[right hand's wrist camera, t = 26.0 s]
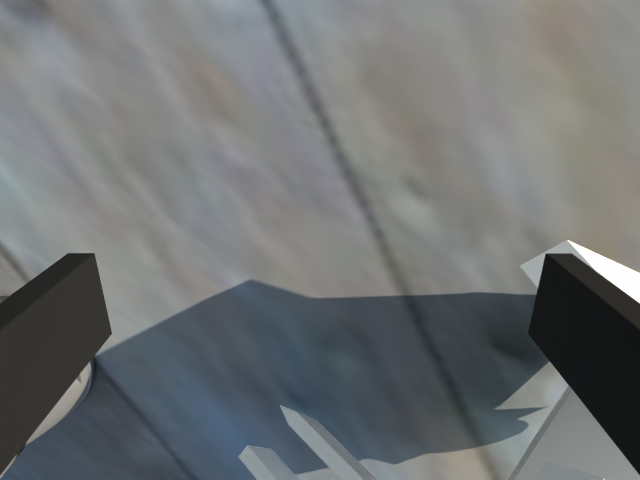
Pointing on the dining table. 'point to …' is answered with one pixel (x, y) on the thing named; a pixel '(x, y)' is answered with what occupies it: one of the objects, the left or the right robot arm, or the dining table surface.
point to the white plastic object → (545, 449)
